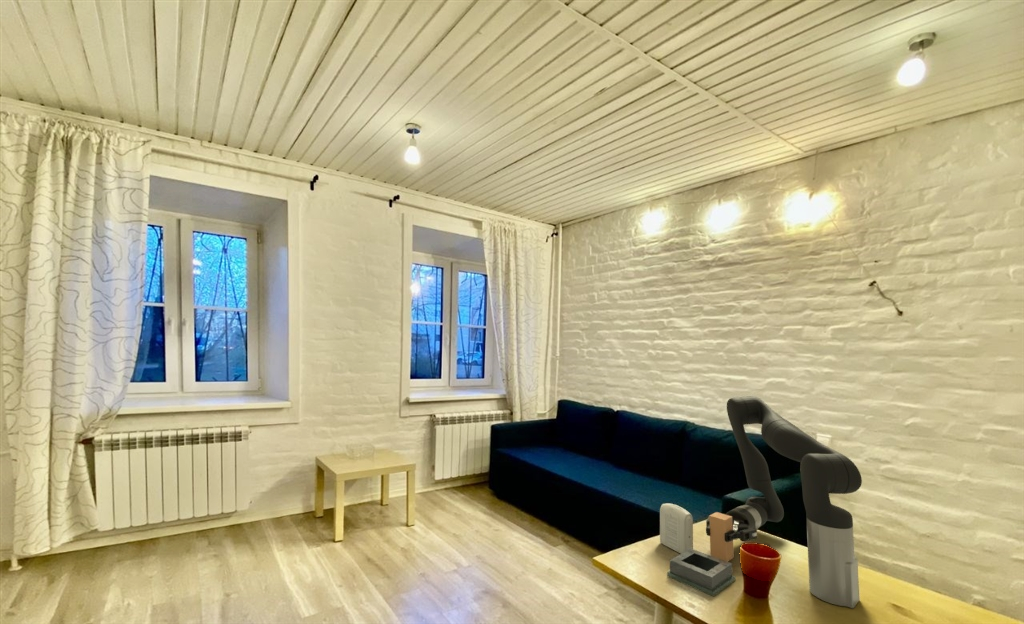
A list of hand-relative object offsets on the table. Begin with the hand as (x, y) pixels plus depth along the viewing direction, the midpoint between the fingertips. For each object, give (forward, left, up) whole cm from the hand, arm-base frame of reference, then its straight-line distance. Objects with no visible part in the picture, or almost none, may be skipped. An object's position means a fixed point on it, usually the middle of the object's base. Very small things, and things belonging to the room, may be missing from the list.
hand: (717, 534), depth 121 cm
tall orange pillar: (0, -3, -7) cm, 7 cm away
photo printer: (+12, 0, -8) cm, 14 cm away
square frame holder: (-1, +11, -8) cm, 14 cm away
